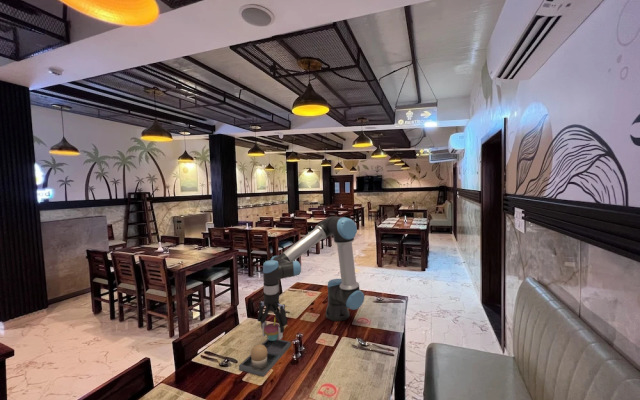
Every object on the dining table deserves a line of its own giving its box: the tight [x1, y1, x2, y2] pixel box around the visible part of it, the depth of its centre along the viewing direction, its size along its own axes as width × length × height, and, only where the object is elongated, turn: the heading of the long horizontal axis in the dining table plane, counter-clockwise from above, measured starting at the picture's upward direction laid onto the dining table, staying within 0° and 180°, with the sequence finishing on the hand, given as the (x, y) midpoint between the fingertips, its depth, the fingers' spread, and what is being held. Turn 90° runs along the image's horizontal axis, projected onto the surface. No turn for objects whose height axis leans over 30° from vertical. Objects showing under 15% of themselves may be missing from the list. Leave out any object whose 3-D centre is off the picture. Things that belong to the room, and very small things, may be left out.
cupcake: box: [264, 316, 280, 341], centre depth 139 cm, size 9×8×12 cm
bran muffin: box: [250, 343, 268, 369], centre depth 128 cm, size 8×8×9 cm
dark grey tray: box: [238, 338, 292, 377], centre depth 134 cm, size 13×25×3 cm, turn 158°
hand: (272, 336), depth 139 cm, fingers closed on cupcake, 8 cm apart
